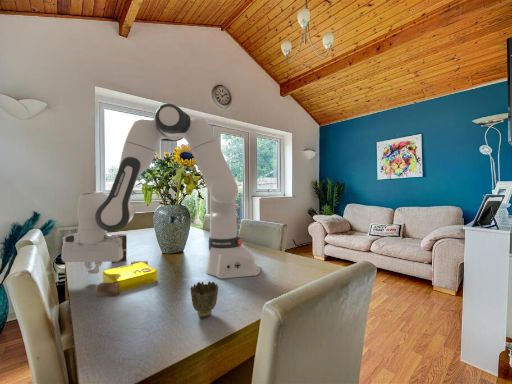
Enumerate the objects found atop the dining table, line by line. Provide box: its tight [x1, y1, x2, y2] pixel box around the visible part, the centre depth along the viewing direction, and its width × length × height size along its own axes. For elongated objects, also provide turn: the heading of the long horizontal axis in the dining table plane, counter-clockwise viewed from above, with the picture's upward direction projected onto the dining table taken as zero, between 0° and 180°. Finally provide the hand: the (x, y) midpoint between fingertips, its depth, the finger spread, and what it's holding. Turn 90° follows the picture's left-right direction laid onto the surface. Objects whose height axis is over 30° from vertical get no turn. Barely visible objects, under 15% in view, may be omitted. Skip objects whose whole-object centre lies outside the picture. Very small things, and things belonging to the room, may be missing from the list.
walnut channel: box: [96, 260, 149, 298], centre depth 90 cm, size 6×25×4 cm, turn 2°
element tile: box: [102, 262, 158, 292], centre depth 90 cm, size 15×15×5 cm
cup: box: [189, 281, 219, 319], centre depth 66 cm, size 8×7×8 cm
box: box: [111, 233, 128, 263], centre depth 114 cm, size 6×4×12 cm
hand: (93, 273), depth 89 cm, fingers closed
